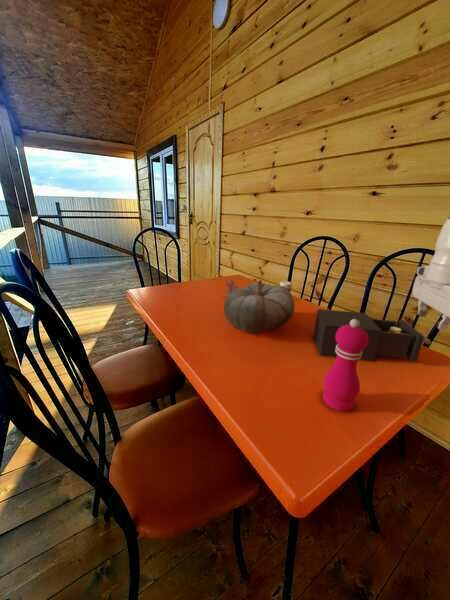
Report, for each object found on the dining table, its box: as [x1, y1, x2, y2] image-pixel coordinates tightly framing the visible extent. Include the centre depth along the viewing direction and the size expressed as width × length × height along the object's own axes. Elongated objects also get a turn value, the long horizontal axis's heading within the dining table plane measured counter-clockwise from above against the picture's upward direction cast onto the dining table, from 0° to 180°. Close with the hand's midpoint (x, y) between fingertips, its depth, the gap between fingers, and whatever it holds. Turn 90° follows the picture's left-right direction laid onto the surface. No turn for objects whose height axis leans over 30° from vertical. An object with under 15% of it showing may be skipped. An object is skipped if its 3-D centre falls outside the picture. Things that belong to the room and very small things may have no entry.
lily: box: [223, 275, 240, 298], centre depth 120 cm, size 12×12×10 cm
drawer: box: [370, 318, 432, 363], centre depth 76 cm, size 18×12×8 cm, turn 80°
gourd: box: [223, 280, 295, 336], centre depth 90 cm, size 25×25×17 cm
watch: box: [388, 326, 401, 333], centre depth 76 cm, size 6×3×6 cm, turn 170°
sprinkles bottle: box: [279, 280, 293, 294], centre depth 103 cm, size 5×5×14 cm
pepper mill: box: [322, 319, 368, 412], centre depth 53 cm, size 7×7×20 cm
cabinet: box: [313, 308, 382, 362], centre depth 78 cm, size 15×13×10 cm
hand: (430, 322), depth 73 cm, fingers open, 8 cm apart
